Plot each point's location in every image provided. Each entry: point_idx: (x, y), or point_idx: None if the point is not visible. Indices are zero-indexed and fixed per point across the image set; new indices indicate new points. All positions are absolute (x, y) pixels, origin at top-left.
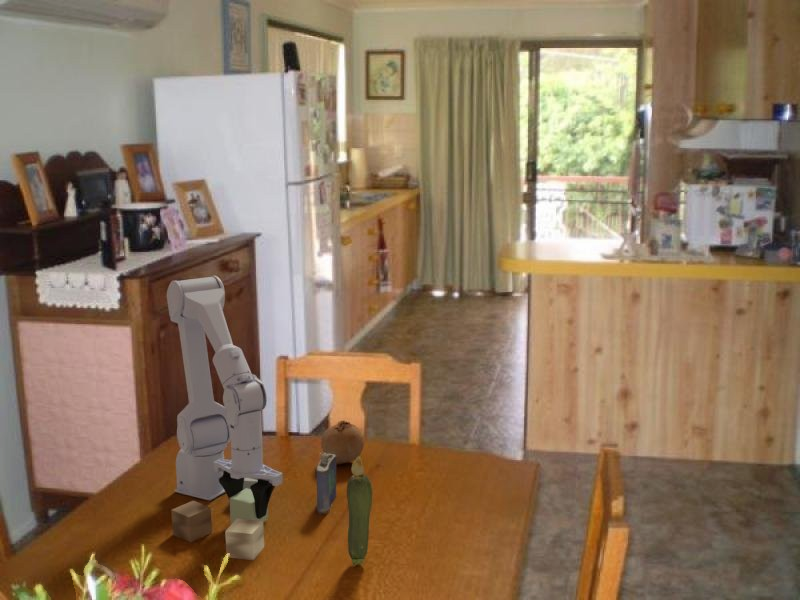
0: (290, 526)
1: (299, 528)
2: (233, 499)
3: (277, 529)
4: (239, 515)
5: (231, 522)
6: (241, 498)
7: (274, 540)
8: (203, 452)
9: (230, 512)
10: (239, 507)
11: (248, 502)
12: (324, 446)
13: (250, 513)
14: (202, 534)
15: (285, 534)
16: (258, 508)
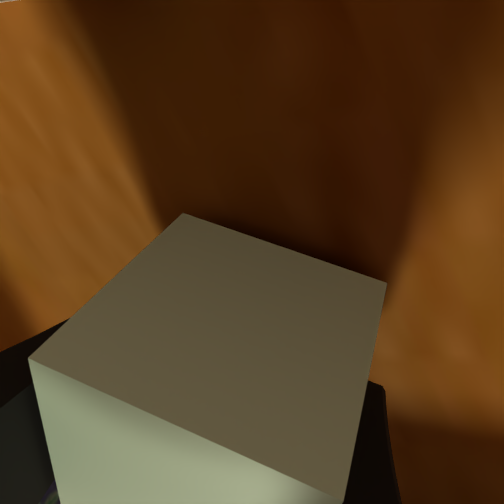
0: (56, 288)
1: (11, 272)
2: (280, 466)
3: (88, 253)
4: (264, 303)
5: (376, 283)
6: (195, 469)
7: (12, 116)
8: None
9: (370, 349)
10: (226, 361)
11: (67, 381)
12: None
13: (118, 288)
14: None
15: (17, 203)
16: (46, 332)
